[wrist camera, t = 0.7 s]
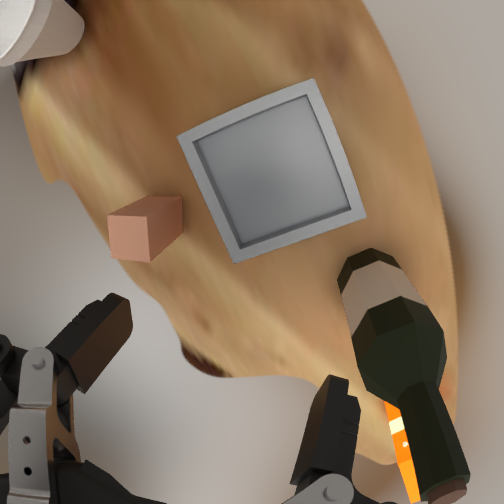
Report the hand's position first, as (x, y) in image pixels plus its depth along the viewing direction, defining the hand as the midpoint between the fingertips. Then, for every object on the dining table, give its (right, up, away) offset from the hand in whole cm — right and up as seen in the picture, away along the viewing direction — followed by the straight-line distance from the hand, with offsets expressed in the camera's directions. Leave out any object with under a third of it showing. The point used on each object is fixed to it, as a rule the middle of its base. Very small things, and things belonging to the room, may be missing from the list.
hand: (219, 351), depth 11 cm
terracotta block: (-10, +8, +28) cm, 30 cm away
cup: (-26, +35, +20) cm, 48 cm away
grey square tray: (+4, +13, +24) cm, 28 cm away
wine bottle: (+16, 0, +27) cm, 32 cm away
